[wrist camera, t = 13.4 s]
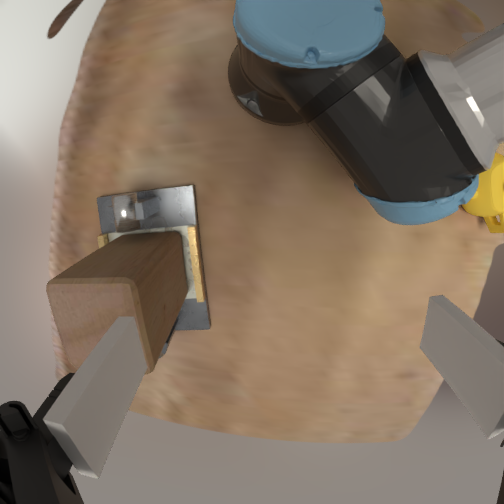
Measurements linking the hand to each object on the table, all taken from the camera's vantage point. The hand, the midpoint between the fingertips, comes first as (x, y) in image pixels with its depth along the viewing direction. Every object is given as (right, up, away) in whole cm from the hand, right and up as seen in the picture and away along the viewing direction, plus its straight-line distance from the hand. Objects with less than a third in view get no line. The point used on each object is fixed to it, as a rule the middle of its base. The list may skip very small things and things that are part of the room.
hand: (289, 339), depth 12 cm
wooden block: (-16, +2, +32) cm, 36 cm away
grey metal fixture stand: (-16, +2, +33) cm, 37 cm away
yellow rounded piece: (+37, +16, +30) cm, 50 cm away
